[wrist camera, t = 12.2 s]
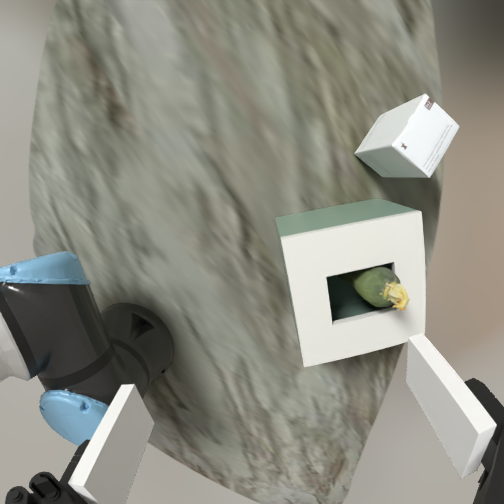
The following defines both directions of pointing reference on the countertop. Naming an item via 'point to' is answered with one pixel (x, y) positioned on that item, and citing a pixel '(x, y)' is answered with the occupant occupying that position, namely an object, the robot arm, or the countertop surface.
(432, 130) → the skincare box
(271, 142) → the countertop surface
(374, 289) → the vegetable
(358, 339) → the box
